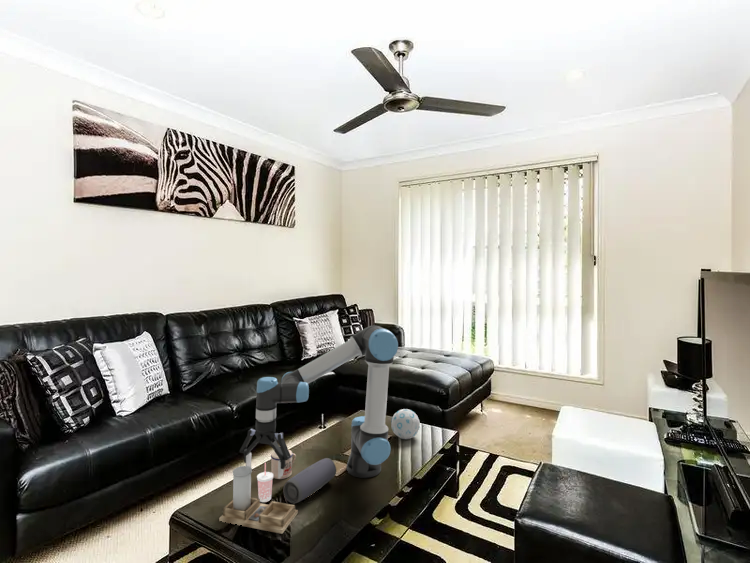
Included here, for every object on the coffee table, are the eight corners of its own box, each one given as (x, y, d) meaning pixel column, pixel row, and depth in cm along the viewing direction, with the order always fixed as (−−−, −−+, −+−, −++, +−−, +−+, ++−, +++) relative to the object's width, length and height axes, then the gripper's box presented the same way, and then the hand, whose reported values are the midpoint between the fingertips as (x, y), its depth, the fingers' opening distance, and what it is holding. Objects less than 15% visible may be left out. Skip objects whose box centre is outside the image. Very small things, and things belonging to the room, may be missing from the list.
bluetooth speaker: (319, 477, 174) (319, 454, 174) (337, 483, 169) (337, 459, 169) (281, 502, 155) (282, 476, 154) (300, 510, 150) (300, 483, 150)
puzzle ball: (386, 434, 220) (386, 407, 220) (410, 430, 227) (411, 403, 226) (399, 445, 207) (400, 416, 206) (425, 441, 213) (425, 412, 213)
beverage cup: (265, 492, 161) (266, 457, 161) (276, 497, 158) (277, 462, 157) (253, 499, 156) (253, 463, 156) (263, 505, 153) (264, 468, 152)
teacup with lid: (279, 482, 169) (279, 454, 169) (266, 474, 175) (266, 447, 175) (301, 471, 179) (302, 445, 178) (288, 464, 184) (289, 439, 184)
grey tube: (254, 506, 149) (255, 467, 149) (244, 517, 143) (245, 476, 143) (238, 504, 151) (239, 464, 151) (228, 514, 145) (228, 473, 144)
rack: (297, 513, 148) (297, 503, 148) (282, 533, 137) (282, 522, 136) (238, 502, 154) (239, 492, 154) (219, 521, 142) (219, 510, 142)
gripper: (300, 419, 157) (298, 474, 157) (242, 411, 163) (240, 464, 163) (291, 426, 149) (289, 484, 150) (231, 418, 155) (229, 473, 156)
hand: (264, 473), depth 157 cm, fingers open, 13 cm apart
